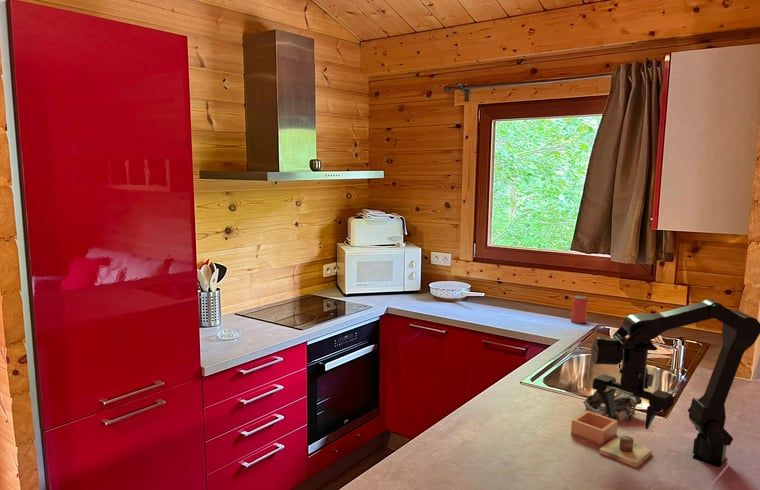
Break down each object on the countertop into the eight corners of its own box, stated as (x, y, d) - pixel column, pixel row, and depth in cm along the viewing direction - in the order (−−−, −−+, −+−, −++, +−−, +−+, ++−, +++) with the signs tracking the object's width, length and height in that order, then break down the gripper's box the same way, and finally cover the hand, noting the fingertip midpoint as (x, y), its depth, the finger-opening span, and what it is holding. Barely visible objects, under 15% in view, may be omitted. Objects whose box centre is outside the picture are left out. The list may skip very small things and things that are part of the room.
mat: (652, 455, 152) (652, 454, 152) (637, 469, 145) (637, 468, 145) (614, 441, 159) (614, 440, 159) (598, 454, 152) (598, 453, 152)
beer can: (587, 324, 269) (589, 298, 267) (573, 323, 269) (575, 298, 267) (582, 320, 276) (584, 295, 274) (568, 319, 276) (570, 294, 274)
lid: (651, 454, 152) (653, 439, 152) (636, 467, 146) (638, 451, 145) (615, 440, 159) (616, 426, 158) (599, 453, 152) (600, 438, 152)
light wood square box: (616, 436, 162) (617, 420, 162) (602, 447, 156) (603, 431, 155) (585, 425, 169) (586, 410, 168) (570, 435, 162) (571, 420, 162)
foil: (583, 392, 184) (629, 376, 177) (600, 424, 182) (647, 409, 175) (576, 404, 174) (624, 387, 166) (594, 438, 172) (643, 422, 165)
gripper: (684, 367, 147) (678, 425, 150) (611, 348, 160) (607, 402, 163) (668, 378, 140) (662, 439, 142) (593, 358, 153) (588, 414, 155)
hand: (628, 422), depth 151 cm, fingers open, 9 cm apart
